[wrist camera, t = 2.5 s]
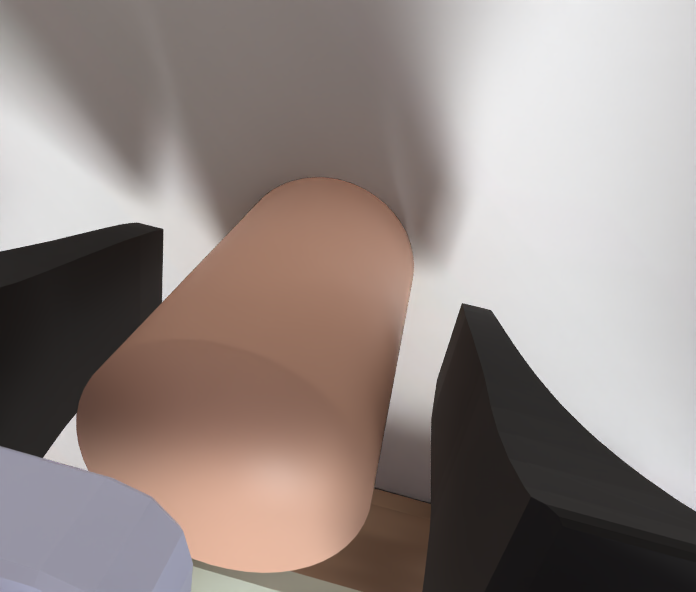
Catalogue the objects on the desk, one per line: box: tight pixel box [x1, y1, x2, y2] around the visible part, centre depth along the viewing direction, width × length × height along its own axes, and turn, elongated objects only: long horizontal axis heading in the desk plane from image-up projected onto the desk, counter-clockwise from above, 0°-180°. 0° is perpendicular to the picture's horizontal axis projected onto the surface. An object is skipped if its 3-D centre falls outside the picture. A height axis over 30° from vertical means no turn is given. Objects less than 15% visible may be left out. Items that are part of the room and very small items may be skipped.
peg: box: [76, 177, 414, 573], centre depth 11 cm, size 4×4×7 cm
